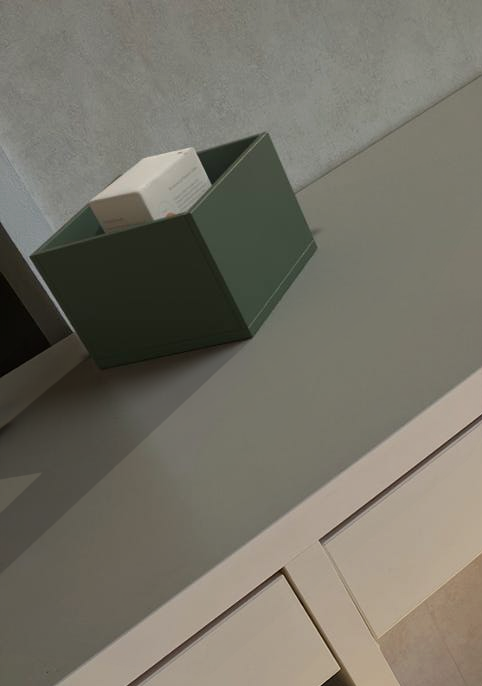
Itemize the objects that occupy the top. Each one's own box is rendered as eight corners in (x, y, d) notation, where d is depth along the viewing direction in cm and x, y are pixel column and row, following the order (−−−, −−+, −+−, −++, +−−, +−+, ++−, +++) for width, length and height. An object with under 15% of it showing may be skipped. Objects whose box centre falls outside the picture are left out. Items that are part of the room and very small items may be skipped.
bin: (98, 369, 87) (28, 256, 80) (175, 282, 96) (118, 175, 90) (252, 337, 81) (190, 212, 74) (318, 247, 91) (267, 130, 84)
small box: (206, 278, 92) (143, 156, 85) (255, 271, 89) (194, 144, 82) (155, 326, 87) (84, 201, 80) (205, 320, 84) (136, 190, 77)
